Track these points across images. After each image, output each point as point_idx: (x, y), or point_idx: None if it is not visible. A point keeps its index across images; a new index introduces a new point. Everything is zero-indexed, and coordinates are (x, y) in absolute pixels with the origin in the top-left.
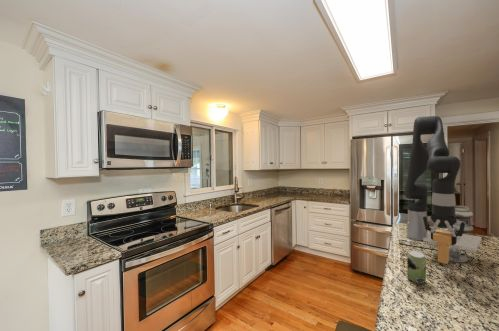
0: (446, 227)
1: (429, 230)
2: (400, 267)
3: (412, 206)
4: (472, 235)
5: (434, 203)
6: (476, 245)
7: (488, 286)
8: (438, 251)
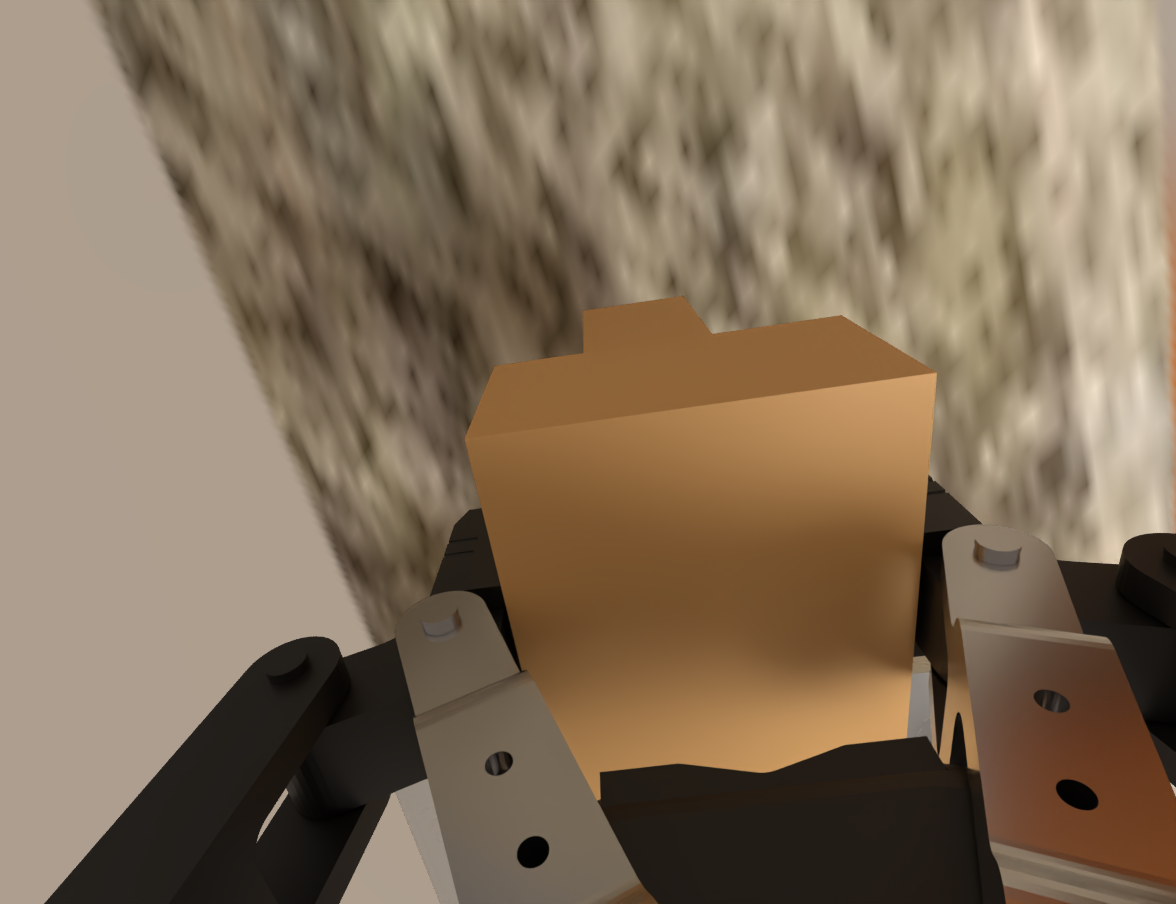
0: (641, 795)
1: (1074, 575)
2: (1021, 64)
3: None
4: None
5: None
6: (426, 846)
7: (295, 375)
8: (699, 333)
